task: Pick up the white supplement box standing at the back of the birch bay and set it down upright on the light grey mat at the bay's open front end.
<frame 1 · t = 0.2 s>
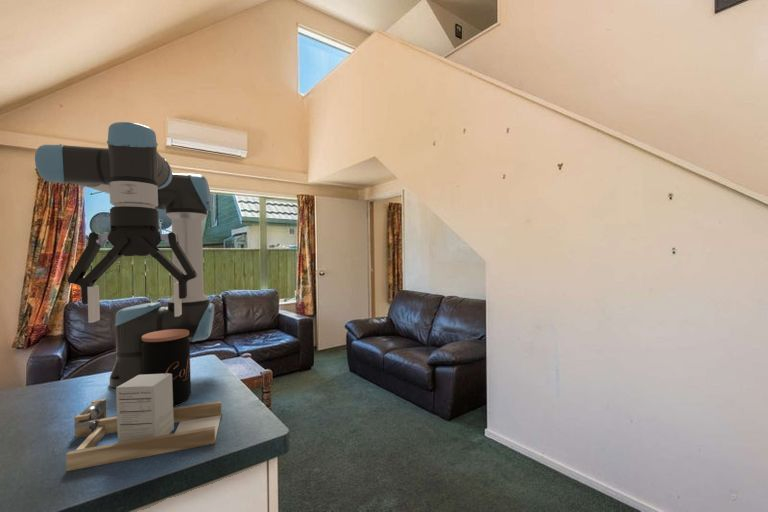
hand: (137, 318, 67), 26 cm above the kitchen counter, tool pointing down, fingers open, 13 cm apart
supplement box: (147, 440, 73), resting in bay
bay: (155, 437, 73), on the kitchen counter
front mat: (196, 430, 76), on the kitchen counter
winch: (91, 426, 78), on the kitchen counter
coffee jar: (167, 402, 91), on the kitchen counter
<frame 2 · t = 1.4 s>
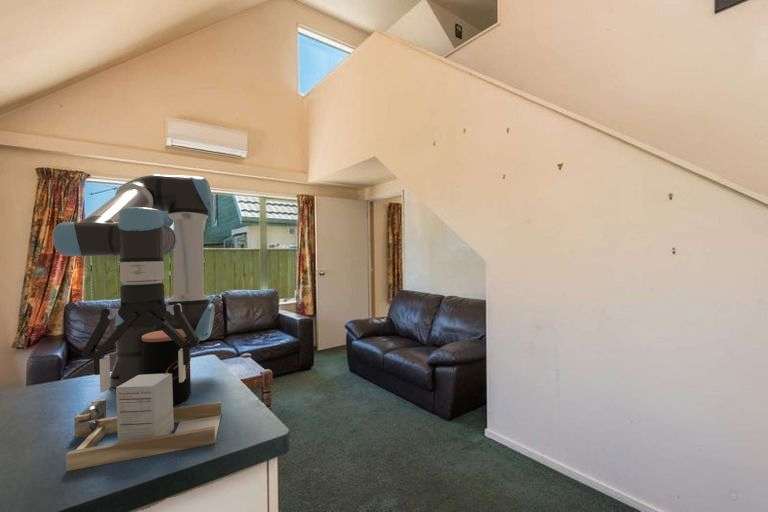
hand: (145, 385, 72), 12 cm above the kitchen counter, tool pointing down, fingers open, 13 cm apart
nothing on the kitchen counter moved.
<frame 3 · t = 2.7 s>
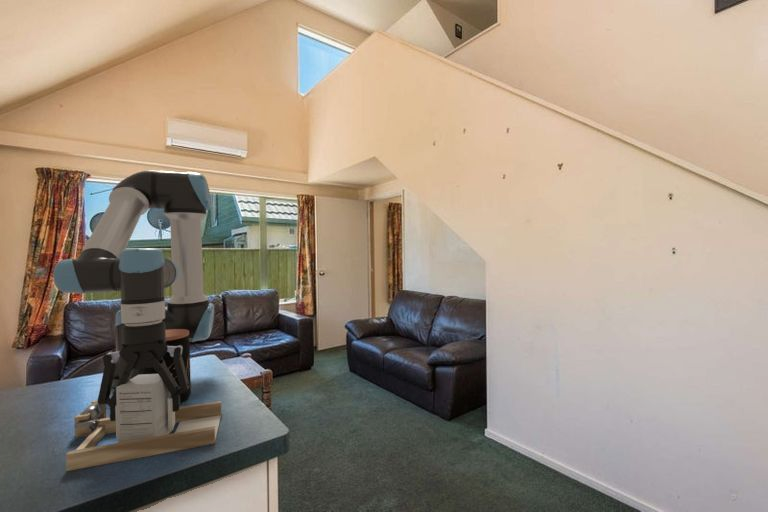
hand: (146, 430, 73), 2 cm above the kitchen counter, tool pointing down, fingers closed on supplement box, 8 cm apart
supplement box: (147, 440, 73), resting in bay, touching gripper
everything else where it was.
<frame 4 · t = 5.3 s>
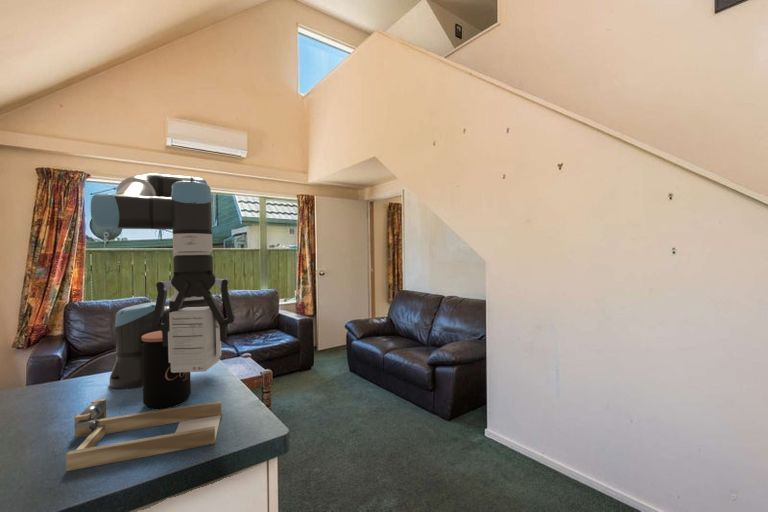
hand: (196, 358, 76), 16 cm above the kitchen counter, tool pointing down, fingers closed on supplement box, 8 cm apart
supplement box: (196, 367, 76), point 14 cm above the kitchen counter, touching gripper
everything else where it was.
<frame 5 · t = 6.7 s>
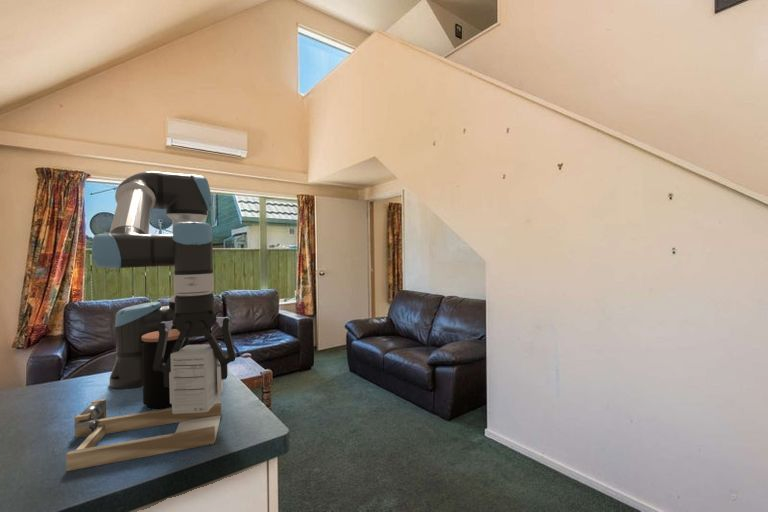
hand: (197, 397, 76), 7 cm above the kitchen counter, tool pointing down, fingers closed on supplement box, 8 cm apart
supplement box: (197, 407, 76), point 5 cm above the kitchen counter, touching gripper
everything else where it was.
when the fingers open (3 cm above the kitchen counter, at t = 8.0 s): supplement box stays where it is, resting on front mat.
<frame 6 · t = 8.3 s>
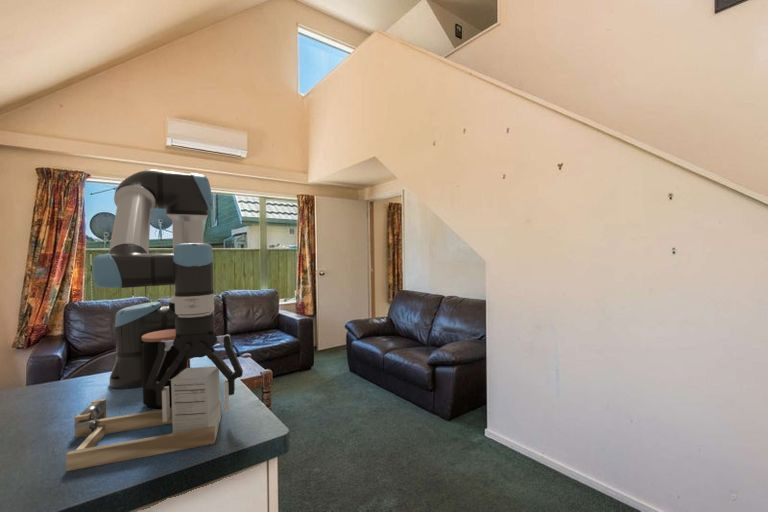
hand: (197, 414, 76), 4 cm above the kitchen counter, tool pointing down, fingers open, 11 cm apart
supplement box: (197, 430, 76), resting on front mat
everything else where it was.
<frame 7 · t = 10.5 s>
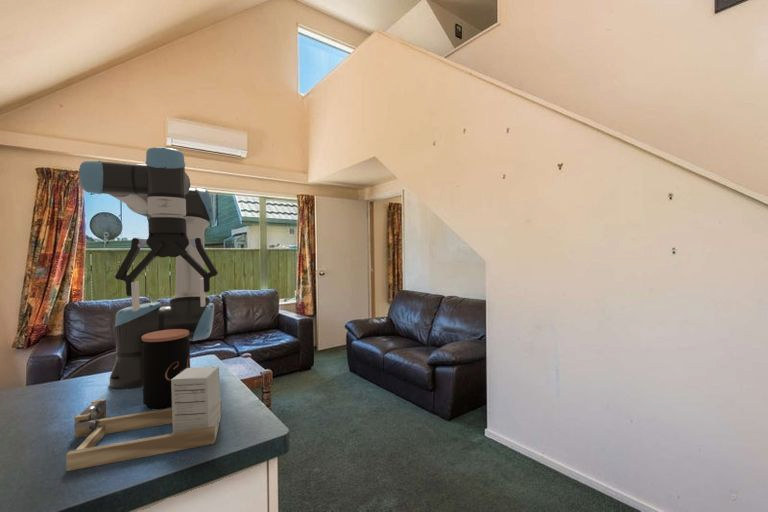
hand: (170, 308, 82), 26 cm above the kitchen counter, tool pointing down, fingers open, 13 cm apart
nothing on the kitchen counter moved.
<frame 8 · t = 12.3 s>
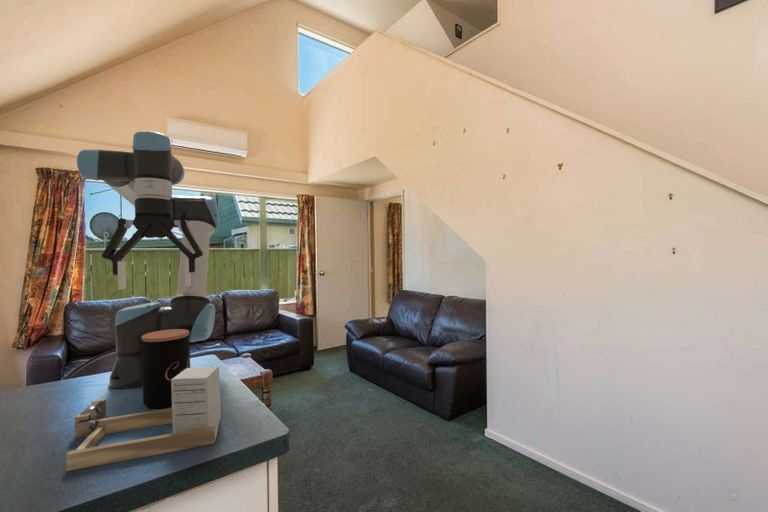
hand: (156, 287, 83), 31 cm above the kitchen counter, tool pointing down, fingers open, 13 cm apart
nothing on the kitchen counter moved.
at the end: supplement box inside the target area (0.6 cm from its centre), resting on front mat; supplement box tilted 0°; the gripper is holding nothing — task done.
